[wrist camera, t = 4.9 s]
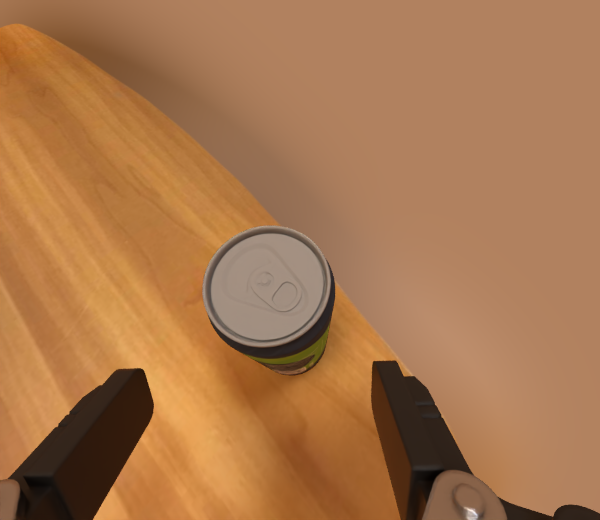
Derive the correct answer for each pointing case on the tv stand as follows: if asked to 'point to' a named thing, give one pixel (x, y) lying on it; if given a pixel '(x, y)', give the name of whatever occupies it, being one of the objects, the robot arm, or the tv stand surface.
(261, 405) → the tv stand surface
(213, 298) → the beverage can
